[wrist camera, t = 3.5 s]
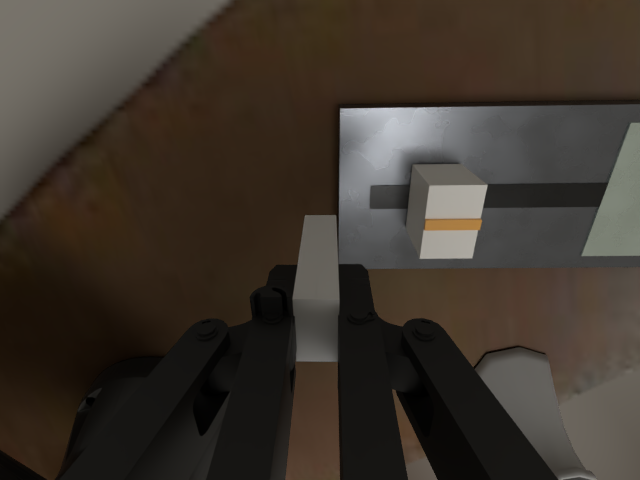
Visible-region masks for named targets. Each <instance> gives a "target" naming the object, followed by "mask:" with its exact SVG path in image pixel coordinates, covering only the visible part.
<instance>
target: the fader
mask: <svg viewBox="0 0 640 480" xmlns="http://www.w3.org/2000/svg"><path fill="white" fill-rule="evenodd" d="M487 186H488V185H487V184H486V183H485V182H483V181H482V180H481V179H480V178H478V177H477V176H476V175H475V174H473V173H472V172H471V171H470V170H468V169H467V168H466V167H465V166H463V165H462V164H413V165H412V174H411V184H410V193H409V202H408V212H407V221H406V230H407V232H408V235H409V237H410V239H411V241H412V243H413V245H414V247H415V250H416V252H417V254H418V256H419V258H420V259H453V258H472V257H473V252H474V247H475V243H476V238H477V233H478V230H480V227H481V223H482V220H481V214H482V209H483V205H484V200H485V195H486V190H487Z"/></svg>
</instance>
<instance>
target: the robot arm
mask: <svg viewBox="0 0 640 480" xmlns="http://www.w3.org/2000/svg"><path fill="white" fill-rule="evenodd" d="M250 303H251V310H252V320H250V321H248V322H246V323H244V324H241V325H237V326H232V327H228V326H227V324H226V323H225V322H224V321H222V320H219V319H206V320H201V321H199V322H197V323H195V324H194V325H192V326H191V327H190V328H189V329H188V330H187V331H186V332H185V333H184V335H183V336H182V337H181V338H180V339H179V340H178V342H177V343H176V344H175V345H174V346H173V347H172V349H171V350H170V351H169V352H168V353H167V354H166V356H165V357H164V358H158V357H143V358H134V359H129V360H125V361H122V362H119V363H116V364H114V365H112V366H110V367H108V368H107V369H105V370H104V371H103V372H102V373H101V374H100V375H99V376H98V377H97V378H96V379H95V381H94V382H93V384H92V385H91V387H90V388H89V389H88V391H87V392H86V394H85V395H84V397H83V399H82V401H81V403H80V405H79V408H78V411H77V414H76V418H75V421H74V424H73V428H72V431H71V435H70V438H69V442H68V445H67V448H66V452H65V455H64V459H63V462H62V466H61V469H60V471H59V473H58V475H57V477H56V478H55V480H285V476H286V466H287V456H288V446H289V436H290V426H291V416H292V407H293V397H294V387H295V377H296V369H295V360H296V361H316V362H338V401H339V447H340V480H408V477H407V471H406V466H405V460H404V455H403V449H402V444H401V438H400V432H399V427H398V421H397V416H396V410H395V405H394V399H393V393H392V389H394V390H396V393H397V396H398V398H399V400H400V402H401V404H402V406H403V408H404V410H405V413H406V415H407V417H408V419H409V421H410V423H411V425H412V427H413V429H414V431H415V433H416V436H417V438H418V440H419V442H420V444H421V446H422V448H423V450H424V452H425V454H426V456H427V458H428V460H429V462H430V465H431V467H432V469H433V471H434V473H435V475H436V477H437V479H438V480H558V478H557V477H556V476H555V474H554V473H553V472H552V470H551V469H550V468H549V467H548V465H547V464H546V463H545V461H544V460H543V459H542V457H541V456H540V455H539V453H538V452H537V451H536V449H535V448H534V447H533V446H532V444H531V443H530V442H529V440H528V439H527V438H526V436H525V435H524V434H523V432H522V431H521V430H520V428H519V427H518V426H517V425H516V423H515V422H514V421H513V419H512V418H511V417H510V415H509V414H508V413H507V411H506V410H505V409H504V407H503V406H502V405H501V404H500V402H499V401H498V400H497V398H496V397H495V396H494V394H493V393H492V392H491V390H490V389H489V388H488V386H487V385H486V384H485V383H484V381H483V380H482V379H481V377H480V376H479V375H478V373H477V372H476V371H475V369H474V368H473V367H472V365H471V364H470V363H469V362H468V360H467V359H466V358H465V356H464V355H463V354H462V352H461V351H460V350H459V348H458V347H457V346H456V345H455V343H454V342H453V341H452V339H451V338H450V337H449V335H448V334H447V333H446V331H445V330H444V329H443V328H442V327H441V326H440V325H439V324H437V323H435V322H433V321H431V320H427V319H423V318H419V319H412V320H409V321H407V322H406V323H405V324H404V326H403V327H401V326H397V325H393V324H390V323H387V322H385V321H384V320H382V319H381V318H380V317H378V315H377V313H376V312H375V310H374V305H373V299H372V293H371V287H370V281H369V275H368V271H367V269H366V268H365V267H364V266H363V265H362V264H338V248H337V222H336V215H305V219H304V226H303V232H302V239H301V246H300V252H299V259H298V265H276V266H275V267H274V268H273V269H272V270H271V271H270V273H269V277H268V281H267V284H266V286H264V287H261V288H258V289H257V290H255V291H254V292H253V293H252V294H251V296H250ZM0 480H47V479H45V478H44V477H42V476H40V475H39V474H37V473H36V472H34V471H32V470H31V469H29V468H28V467H26V466H25V465H23V464H21V463H20V462H18V461H17V460H15V459H14V458H12V457H10V456H9V455H7V454H6V453H4V452H2V451H1V450H0Z"/></svg>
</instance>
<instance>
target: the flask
mask: <svg viewBox="0 0 640 480" xmlns="http://www.w3.org/2000/svg"><path fill="white" fill-rule="evenodd" d="M475 371H476V372H477V373H478V375H479V376H480V377H481V379H482V380H483V381H484V383H485V384H486V385H487V386H488V388H489V389H490V390H491V392H492V393H493V394H494V396H495V397H496V398H497V400H498V401H499V402H500V404H501V405H502V406H503V407H504V409H505V410H506V411H507V413H508V414H509V415H510V417H511V418H512V419H513V421H514V422H515V423H516V425H517V426H518V427H519V428H520V430H521V431H522V432H523V434H524V435H525V436H526V438H527V439H528V440H529V442H530V443H531V444H532V446H533V447H534V448H535V449H536V451H537V452H538V453H539V455H540V456H541V457H542V459H543V460H544V461H545V463H546V464H547V465H548V467H549V468H550V469H551V470H552V472H553V473H554V474H555V476H556V477H557V478H558V480H597V478H596V476H595V475H594V474H593V473H592V472H591V471H588V470H586V469H585V467H584V466H583V465H582V463H581V462H580V460H579V458H578V456H577V455H576V453H575V451H574V449H573V447H572V445H571V442H570V440H569V437H568V435H567V433H566V430H565V428H564V425H563V421H562V418H561V413H560V410H559V405H558V401H557V397H556V393H555V389H554V384H553V379H552V374H551V370H550V365H549V361H548V357H547V355H544V354H541V353H538V352H534V351H531V350H528V349H524V348H521V347H518V348H513V349H508V350H503V351H498V352H493V353H489V354H486V355H485V356H484V358H483V359H482V360H481V362H480V363H479V364H478V365H477V367H476V368H475Z"/></svg>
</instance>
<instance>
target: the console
mask: <svg viewBox="0 0 640 480" xmlns="http://www.w3.org/2000/svg"><path fill="white" fill-rule="evenodd" d="M413 164H462V165H463V166H465V167H466V168H467V169H468V170H470V171H471V172H472V173H473V174H475V175H476V176H477V177H478V178H480V179H481V180H482V181H483V182H485V183H486V184H487V185H488V186H487V190H486V195H485V200H484V205H483V209H482V214H481V220H482V223H481V227H480V230H478V233H477V238H476V243H475V247H474V252H473V257H472V258H453V259H420V258H419V256H418V254H417V252H416V250H415V247H414V245H413V243H412V241H411V239H410V237H409V235H408V232H407V230H406V221H407V212H408V202H409V193H410V184H411V174H412V165H413ZM338 264H362V265H363V266H364V267H365V268H366V269H415V268H557V267H640V100H601V101H532V102H464V103H395V104H339V147H338Z"/></svg>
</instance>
